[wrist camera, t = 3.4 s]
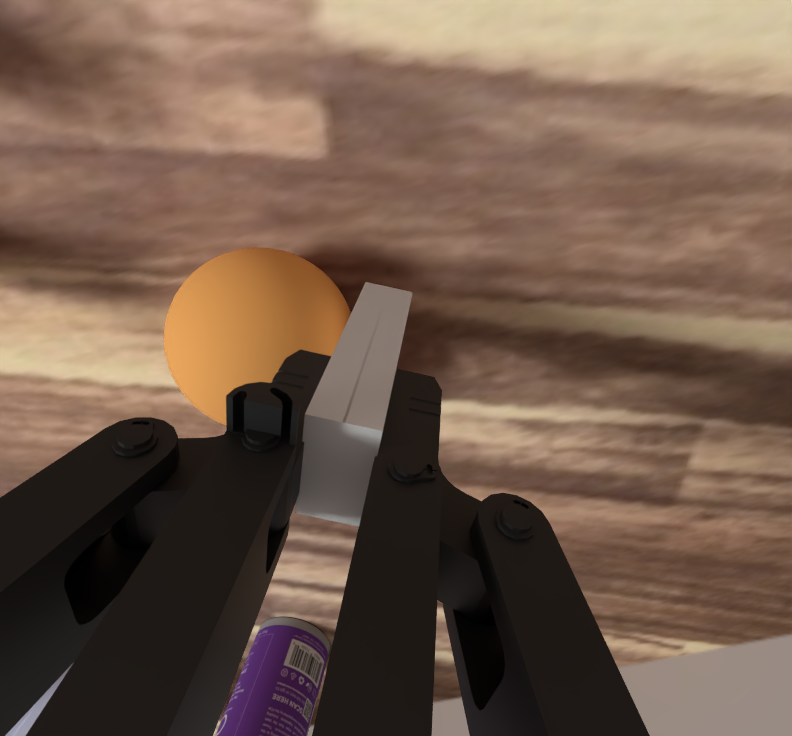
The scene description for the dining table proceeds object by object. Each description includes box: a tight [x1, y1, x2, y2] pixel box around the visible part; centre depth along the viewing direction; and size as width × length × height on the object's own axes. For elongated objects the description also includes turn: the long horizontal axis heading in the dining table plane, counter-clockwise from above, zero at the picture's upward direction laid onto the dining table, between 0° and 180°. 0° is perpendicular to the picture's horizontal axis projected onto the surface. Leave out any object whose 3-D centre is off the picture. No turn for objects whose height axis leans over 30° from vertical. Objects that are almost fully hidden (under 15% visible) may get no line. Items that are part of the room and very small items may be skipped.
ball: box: [164, 248, 351, 426], centre depth 15 cm, size 6×6×6 cm
